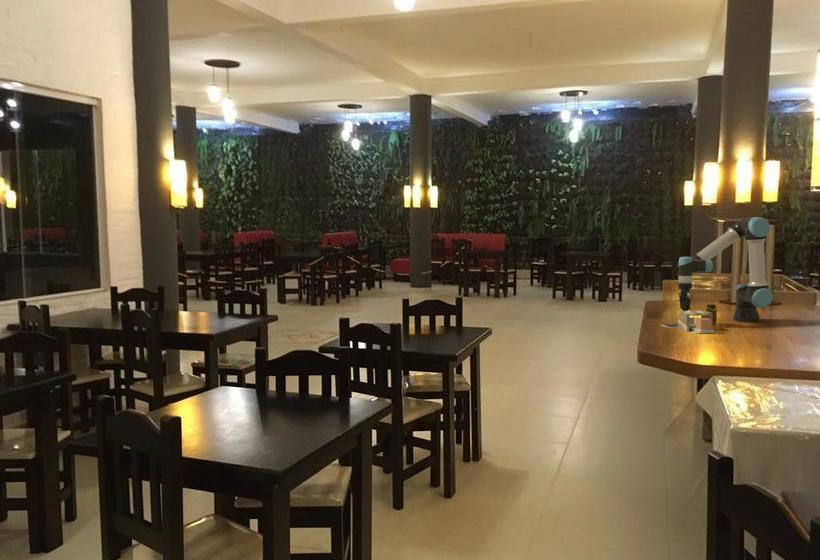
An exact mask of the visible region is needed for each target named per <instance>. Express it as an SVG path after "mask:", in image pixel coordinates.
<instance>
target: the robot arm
mask: <svg viewBox="0 0 820 560" xmlns="http://www.w3.org/2000/svg"><path fill="white" fill-rule="evenodd" d="M770 230H771V225H770V223H769V221H768V220H767V219H766V218H763V217H759V216H747V217H743V218H740V220H738V221H736V222H735V223H733V224H732V225H731V226H729V227H728V228H727V231H726V232H724V233H723V234H722V235H720V236H719V237H718V238H716V239H715V240H713V241H712V242H711V243H710V244H709V245H707V246H706V247H704V248H703V249H701V251H699V252H697V253H696V254H695V255H693V256H681V257H679V258H678V259H679V260H678V277H677V279H678V285H677V286H678V289H679V290H680V292H678V300H679V308H680V309H681V311H691V310H690V308H691V303H692V302H691V301H692V297H693V295H692V294H690V290H692V288H693V284H692V282H693V273H711V272H712V271H713V268H714V264H713V263H714V262H713V261H712V259H713V258H714V257H715V256H717V255H719V254H720V253H721V252H722V251H724V250H725V249H726V248H728V247H729V246H730V245H732V244H733V243H735V242H736V241H740V240H741V239H743V238H744V241H745V242H746V243H747V246H748V247H747V248H748V270H749V271H748V272H749V282H748V283H741V284H740V283H738V284H737V285H736V289H735V291H736V292H735V293H736V298H735V299H736V300H735V301H736V303H735V305H736V306H735V310H734V312H733V315H732V321H734V322H735V321H736V322H741V323H742V322H744V323H754V322H755V323H758V322H760V320H761V318H760V314H759V310H758V308H765V307H767V306H769V305H770V304H771V303H772V301H773V298H774V297H773V296H774V295H773V292H772V291H771V290H770V285H769V283H768V282H767V281H766V260H765V241H767V238H768V237H767V235H768V234H769V233H770Z"/></svg>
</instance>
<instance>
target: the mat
mask: <svg viewBox="0 0 820 560" xmlns="http://www.w3.org/2000/svg"><path fill="white" fill-rule="evenodd" d="M691 333H694V334H696V333H697V334H696V335H699V334H702V335H703V334H704V333H699V332H697V331H694V330H691ZM698 333H699V334H698ZM713 334H716V331H714V333H713Z"/></svg>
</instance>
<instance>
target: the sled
mask: <svg viewBox="0 0 820 560" xmlns="http://www.w3.org/2000/svg"><path fill="white" fill-rule="evenodd" d="M711 322H712V320H711V319H708V318H701V317H698V318H697V317H696V319H695V316H689V330H691V331H697V332H699V333H703V334H715V333H714V332H715V329H713V328H712V329H711Z"/></svg>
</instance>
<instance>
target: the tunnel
mask: <svg viewBox="0 0 820 560" xmlns="http://www.w3.org/2000/svg"><path fill="white" fill-rule="evenodd" d="M696 316H697V317H698V316H700V318H708V319H711V320H712V319H713V313H711V312H707V311H706V310H688V311H682V310H678V318H677V319H678V321H677V322H678V323H677V324H678V327H677V328H678V329H679V330H682V331H685V332H690V329H689V317H696ZM711 329H712V330H713V325H712V322H711Z"/></svg>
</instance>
